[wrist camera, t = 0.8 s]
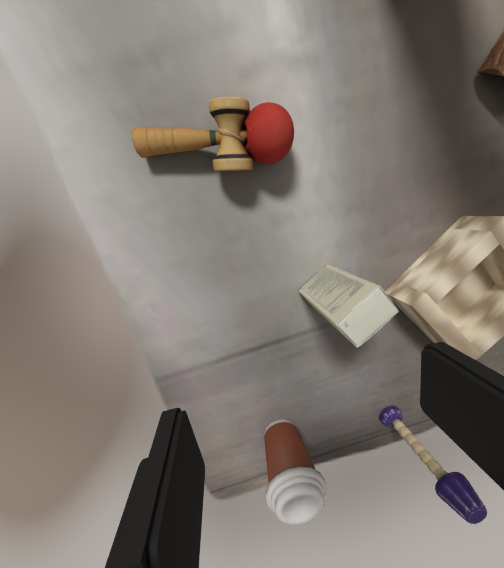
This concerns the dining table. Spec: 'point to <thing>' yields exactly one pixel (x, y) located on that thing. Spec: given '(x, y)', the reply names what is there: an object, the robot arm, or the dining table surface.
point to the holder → (458, 286)
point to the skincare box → (349, 303)
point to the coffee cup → (291, 475)
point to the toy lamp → (440, 473)
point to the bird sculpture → (495, 59)
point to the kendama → (227, 135)
